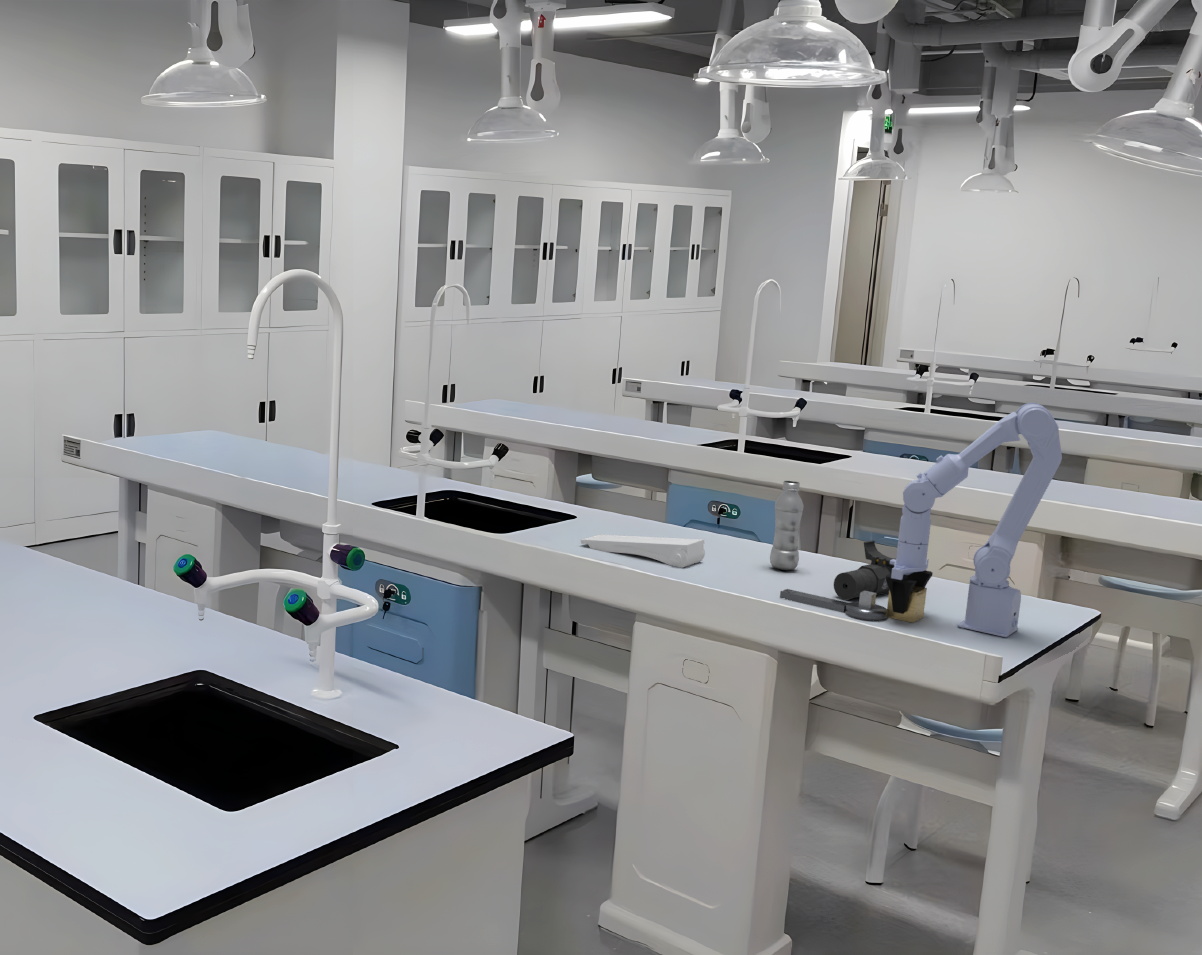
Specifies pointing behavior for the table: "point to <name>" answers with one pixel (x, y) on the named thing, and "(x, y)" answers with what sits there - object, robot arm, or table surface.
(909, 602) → the wood grain cube
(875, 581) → the laser sight
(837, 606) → the ratchet
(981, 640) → the table surface
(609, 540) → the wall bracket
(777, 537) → the plastic bottle
